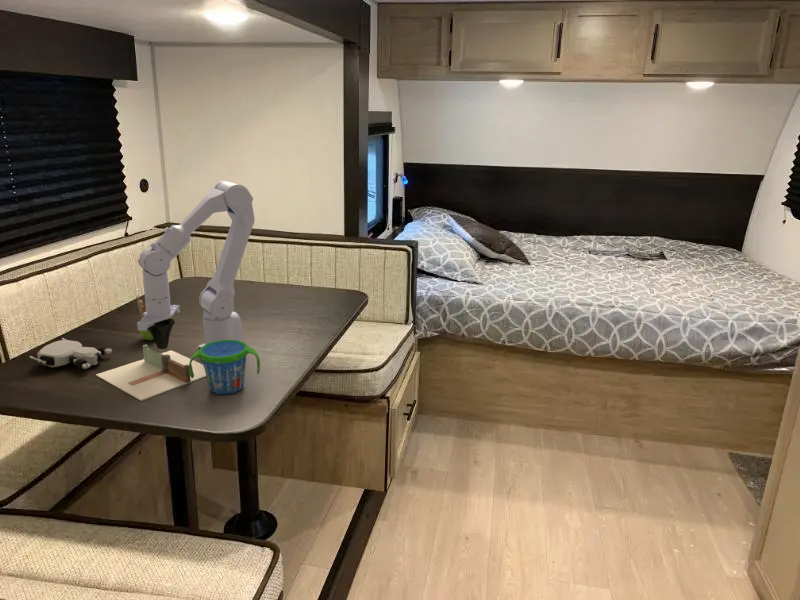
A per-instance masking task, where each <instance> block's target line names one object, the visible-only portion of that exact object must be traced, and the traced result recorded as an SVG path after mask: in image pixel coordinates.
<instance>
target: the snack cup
mask: <svg viewBox="0 0 800 600" xmlns="http://www.w3.org/2000/svg"><path fill="white" fill-rule="evenodd" d="M248 354H251V355H254V357H255V358H256V365H257V367H256V368H257V370H256V373H257V375H259V373H260V369H261V360H260V356H259V354H258V352H257V351H256V350H255V349H254V348H252V347H250V346H248V344H247V343H245V342H244V341H243V342H241V341H237V340H220V341H215V342H211V343H208V344H206V345H204V346H203V347H201V348H200V349H198V350H197V351H195V352H194V353H193V354H192V356H191V358H190V359H191V360H190V363H189V373H190V376H191V378H194V373H193V369H192V365H191V363H192V361H193V360H194V359H195V358H196V357H199V358H200V362H201V364H203V366H204V369H205V373H206V376H207V377H206V381H207V384H208V387H209V389H210V391H211V392H212V393H214V394H216V395H219V396H220V395H221V396H222V395H224V396H225V395H230V394H235V393H237V392H239V391H240V390H241V389H242V388H243V387H244V383H245V373H246V372H245V371H246V363H247V355H248Z"/></svg>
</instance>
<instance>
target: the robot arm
mask: <svg viewBox="0 0 800 600" xmlns="http://www.w3.org/2000/svg"><path fill="white" fill-rule="evenodd" d="M253 200H254V197H253V195H252V194H251V193H250V191H249V190H248V188H247V187H246V186H245V185H243V184H237V183H234V182H232V181H229V180H221V181H219V182H217V183H216V184H215V186H214V187H213V188H211V189H209V190H208V191H207V193H206V195H205V196H204V198H203V199H202V200H201V201H200V202H198V204H196V206H195V207H194V208H193V210H192V211H191V212H190V213H189V214H188V215H187V216H186V217H185V219H184V220H183V221H182V222H181V223H180V224H177V225H176V224H172V225H171V226H170V227H167V226H166V227H165V228H164V229H163V232H164V233H163V234H162V235H161V236H160V237H159V238H158V239H157V240H156V241H155V242H152V243H150V244H149V246H150V247H148V248H145V249H143V250H142V252H141V253H140V254H139V257H138V258H139V259H137V261H138V262H137V263H138V264H139V266H140V268H142V278H143V280H142V282H143V283H142V284H143V290H144V291H143V292H144V300H145V304H146V312H144V313H143V315H144V317H143V318H142V317H141V319H140V321H138V322H136V324H137V331H139V330H142V331H146V330H147V329H148V330H149V332H150V333H151V335H152V336H153V338H154V340H153V341H154V343H155V345H156V347H157V349H159V350H165V349H168V346H169V340H170V336H171V331H172V328H173V327H174V325H175V319H174V318H172V317H173V316H174V315H175V314H179V313H181V310H180V305H179V304H178V305H177V304H172V305H171V294H170V285H169V278H168V271H169V269H170V267H171V262H172V261H173V259H175V258H176V257H177V256H178V255H179V254H180V253H181V252H182V251H183V250H184V248H186V247H187V246H188V244H190V243H191V235H192V234H193V233H194V232H195V231H196V230H197V229H198V228H199V227H200V226H201V225H202V224H204V223H205V222H206V220H208V219H209V218H211V216H212V215H213V214H215V213H220V212H221V213H223V212H227V214H228V216H229V218H230V220H231V223H230V227H229V230H228V233H227V235H226V239H225V242H224V244H223V247H222V251H221V254H220V257H219V259H218V261H217V262H218V263H217V265H216V268H215V271H214V275H213V277H212V278H211V279H210V280H209V281H207V284H206V287H204V289H203V290H202V291H201V292H200V295H199V297H198V301H199V302H198V303H199V305H200V306H201V308H203V314H202V321H203V333H204V343H202V344H199V345H198V348H200V349H201V347H203V346H204V345H206V344H208V343H211V342H215V341H220V340H237V341H241V342H244V340H243V339H244V338H243V323H242V319H241V317H240V315H239V313H237V312H236V311H234V309H235V303H234V298H235V296H236V291H235V287H234V283H235V280H236V278H237V274H238V271H239V268H240V267H241V262H242V259H243V257H244V253H245V251H246V247H247V244H248V241H249V239H250V236H251V233H252V230H253V227H254V224H255V214H254V207H253Z"/></svg>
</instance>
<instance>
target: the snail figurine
mask: <svg viewBox="0 0 800 600" xmlns="http://www.w3.org/2000/svg"><path fill="white" fill-rule="evenodd" d="M141 297H142V296H141V295H138V296H137V295H136V301H137V305H138V309H139V313H140V316H141V319H142V318H143V317H144V315H143V313H144V312H146V303H145V304H144V302H143V300H141ZM143 304H144V305H143ZM138 331H139V335H140V337H141V338H142V339H144V340H146V341H154V338H153V336H152V335H151V333H150V332H149V330H148V329H147V330H146V331H142V330H138Z"/></svg>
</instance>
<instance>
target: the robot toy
mask: <svg viewBox="0 0 800 600" xmlns="http://www.w3.org/2000/svg"><path fill="white" fill-rule="evenodd" d="M112 352H113V350H112V348H105V346H102V347H101V346H100V347H91V346H90V347H89V346H83V344H82V343H81V342H80V341H78V340H77V341H76V340H69V339H66V338H64V337H62V338H61V340H56V341H53V342H51V343H49V344H47V345H45V346H44V347H42V348H41V349H40V350H39V351H37V358H36V357H34V356H32V355H29V358H30V359H31V360H35V361H37V362H38V363H39V364H41V366H47V367H49V368H53V369H55V368H58V367H61V366H62V367H63V366H65V365H68V364H70V363H71V364H74V365H75V366H76V368H79V369H80V370H81V369H82V370H83V369H84V370H86V369H88V368H90V367H91V366H95V365H98V364H99V363H101V362H102V361H103V356H106V354H111V353H112ZM54 367H55V368H54Z"/></svg>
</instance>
